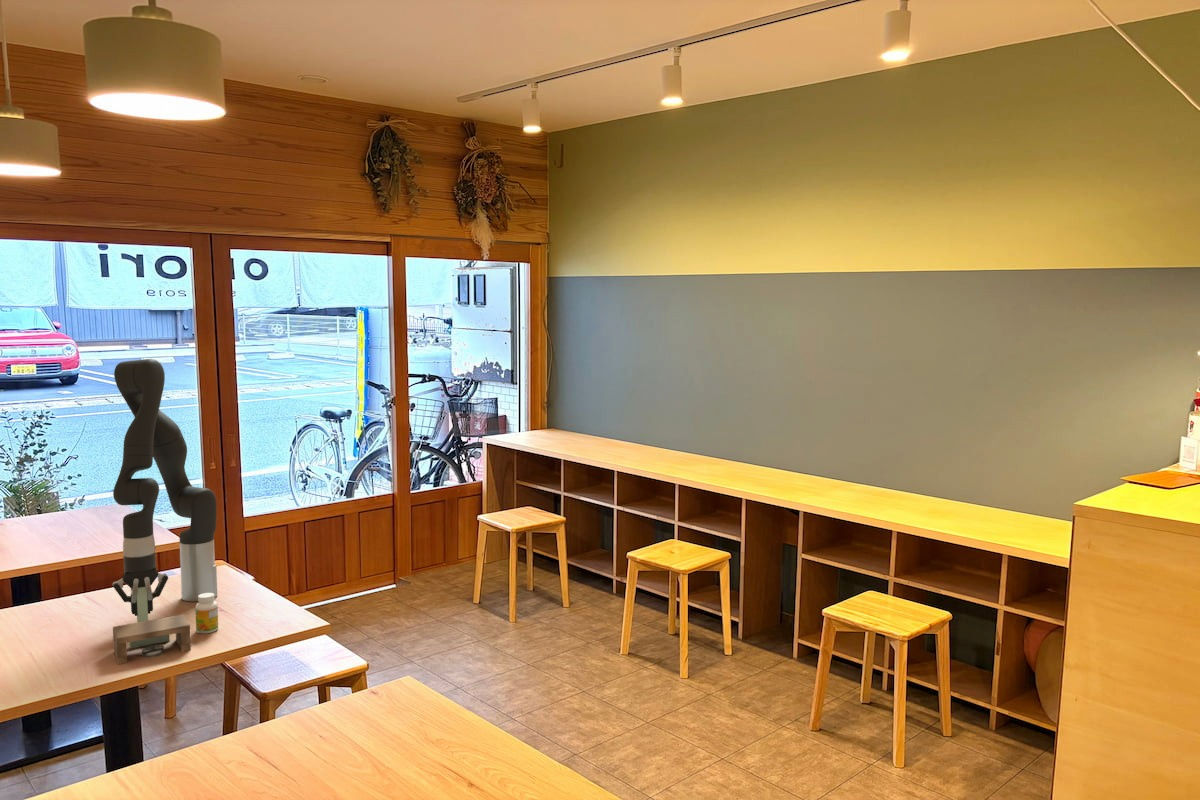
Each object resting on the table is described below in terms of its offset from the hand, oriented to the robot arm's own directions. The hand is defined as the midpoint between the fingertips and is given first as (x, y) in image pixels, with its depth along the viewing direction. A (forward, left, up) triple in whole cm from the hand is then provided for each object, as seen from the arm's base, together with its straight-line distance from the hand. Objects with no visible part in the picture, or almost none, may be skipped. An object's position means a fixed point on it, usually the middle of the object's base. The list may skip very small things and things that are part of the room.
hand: (142, 613), depth 224 cm
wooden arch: (0, +20, -4) cm, 20 cm away
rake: (0, +7, -4) cm, 8 cm away
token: (0, +21, -4) cm, 21 cm away
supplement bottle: (-14, +12, -4) cm, 19 cm away
